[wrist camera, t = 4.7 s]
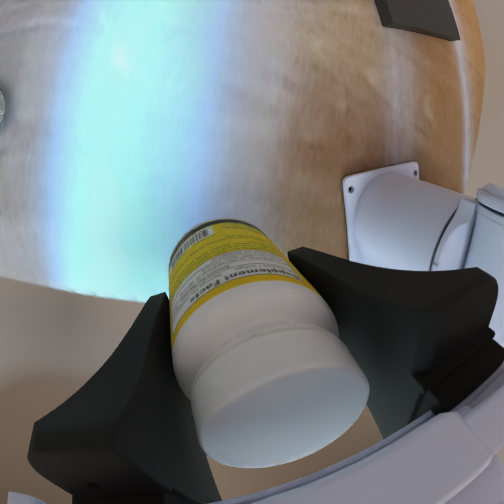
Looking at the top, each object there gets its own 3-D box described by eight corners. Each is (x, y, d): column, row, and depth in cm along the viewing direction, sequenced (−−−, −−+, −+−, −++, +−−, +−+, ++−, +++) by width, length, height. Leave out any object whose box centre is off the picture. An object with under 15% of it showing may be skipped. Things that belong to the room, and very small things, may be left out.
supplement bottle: (265, 310, 14) (344, 453, 7) (169, 313, 13) (185, 484, 6) (280, 216, 13) (415, 333, 5) (169, 212, 11) (170, 365, 4)
